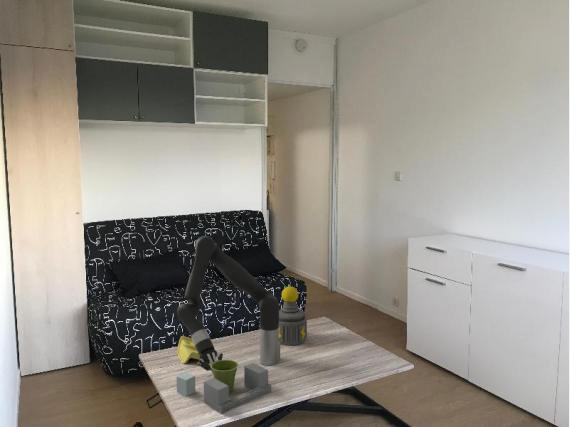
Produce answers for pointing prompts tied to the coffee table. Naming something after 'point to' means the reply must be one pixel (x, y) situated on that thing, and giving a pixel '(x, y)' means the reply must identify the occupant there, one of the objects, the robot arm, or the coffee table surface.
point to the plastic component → (187, 350)
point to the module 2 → (215, 393)
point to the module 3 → (255, 376)
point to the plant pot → (225, 372)
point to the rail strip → (244, 398)
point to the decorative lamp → (291, 319)
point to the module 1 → (185, 384)
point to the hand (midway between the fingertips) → (218, 376)
